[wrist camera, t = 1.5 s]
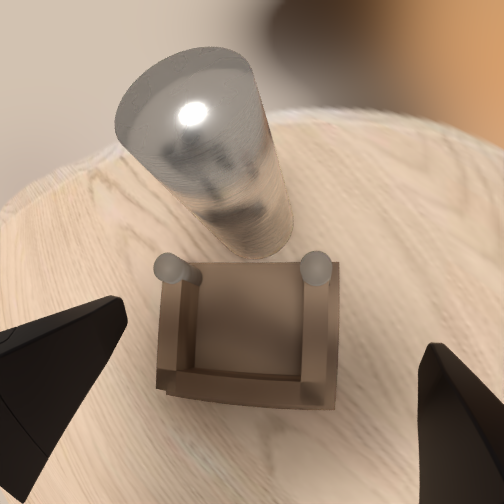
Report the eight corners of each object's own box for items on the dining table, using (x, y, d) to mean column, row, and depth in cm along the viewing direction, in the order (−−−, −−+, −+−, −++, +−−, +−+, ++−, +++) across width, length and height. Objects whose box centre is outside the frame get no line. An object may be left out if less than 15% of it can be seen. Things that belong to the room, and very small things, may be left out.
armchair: (334, 408, 19) (337, 426, 14) (169, 393, 21) (137, 403, 17) (338, 263, 21) (342, 245, 17) (177, 264, 24) (147, 248, 20)
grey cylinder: (293, 258, 22) (249, 144, 9) (217, 259, 23) (99, 166, 10) (293, 187, 24) (256, 37, 10) (222, 190, 25) (134, 64, 12)
